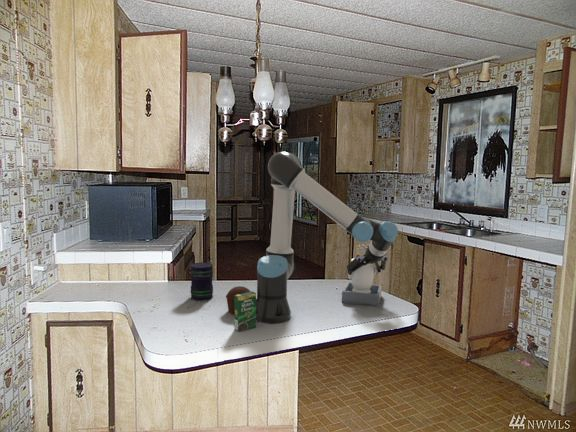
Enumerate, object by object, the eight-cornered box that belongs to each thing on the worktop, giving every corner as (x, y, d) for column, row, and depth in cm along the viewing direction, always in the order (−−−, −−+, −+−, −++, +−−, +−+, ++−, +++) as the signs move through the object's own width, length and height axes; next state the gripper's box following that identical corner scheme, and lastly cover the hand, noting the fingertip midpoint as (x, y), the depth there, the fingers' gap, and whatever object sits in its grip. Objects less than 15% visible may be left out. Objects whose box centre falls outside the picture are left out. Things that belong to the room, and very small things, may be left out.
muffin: (223, 308, 171) (223, 284, 169) (248, 305, 175) (249, 282, 173) (229, 318, 160) (229, 293, 158) (257, 315, 164) (257, 290, 162)
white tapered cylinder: (375, 295, 182) (376, 262, 181) (351, 295, 183) (352, 262, 181) (370, 288, 193) (372, 257, 191) (348, 288, 193) (349, 257, 192)
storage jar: (200, 302, 177) (200, 268, 175) (185, 297, 183) (185, 265, 181) (217, 297, 185) (217, 264, 183) (203, 292, 191) (203, 261, 189)
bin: (341, 302, 182) (342, 291, 181) (347, 292, 197) (347, 282, 197) (378, 306, 177) (379, 295, 177) (381, 295, 193) (381, 285, 192)
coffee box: (237, 332, 146) (237, 296, 144) (233, 329, 148) (233, 294, 147) (256, 327, 151) (257, 292, 149) (252, 325, 153) (252, 290, 151)
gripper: (353, 258, 167) (338, 285, 184) (404, 256, 173) (385, 282, 189) (349, 242, 172) (335, 270, 189) (398, 241, 177) (380, 268, 194)
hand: (360, 276), depth 189 cm, fingers closed on white tapered cylinder, 10 cm apart
